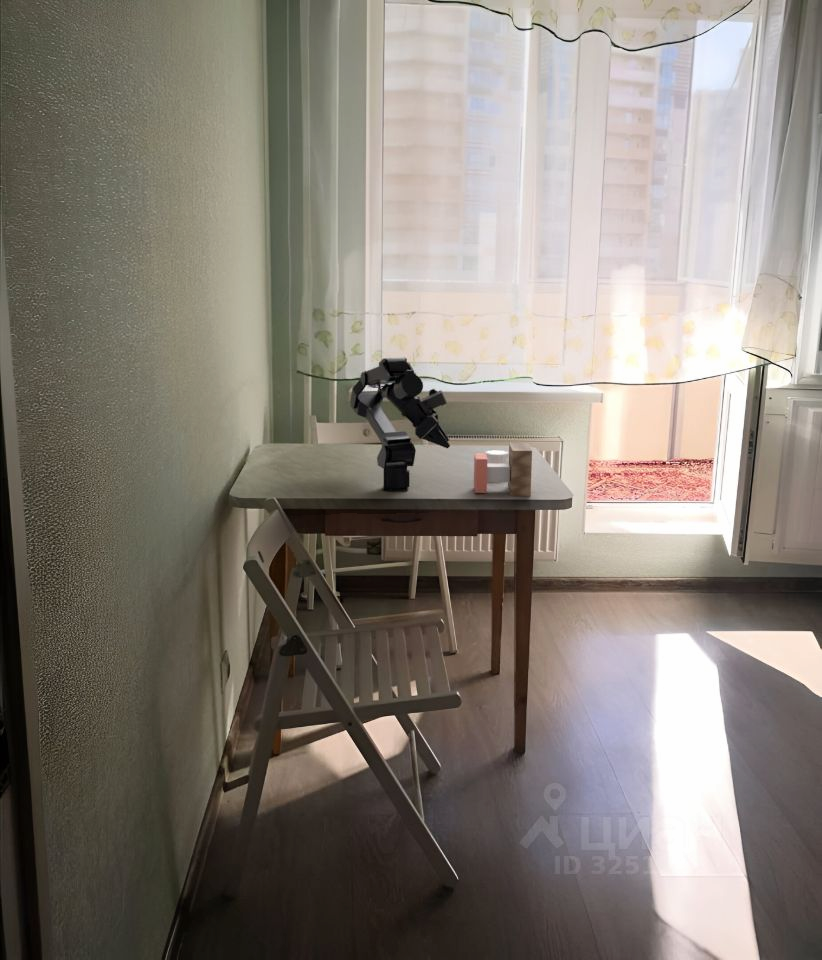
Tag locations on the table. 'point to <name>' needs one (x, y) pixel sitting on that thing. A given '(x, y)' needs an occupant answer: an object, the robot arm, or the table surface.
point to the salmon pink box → (488, 472)
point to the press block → (520, 469)
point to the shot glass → (497, 456)
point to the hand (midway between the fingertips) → (448, 444)
